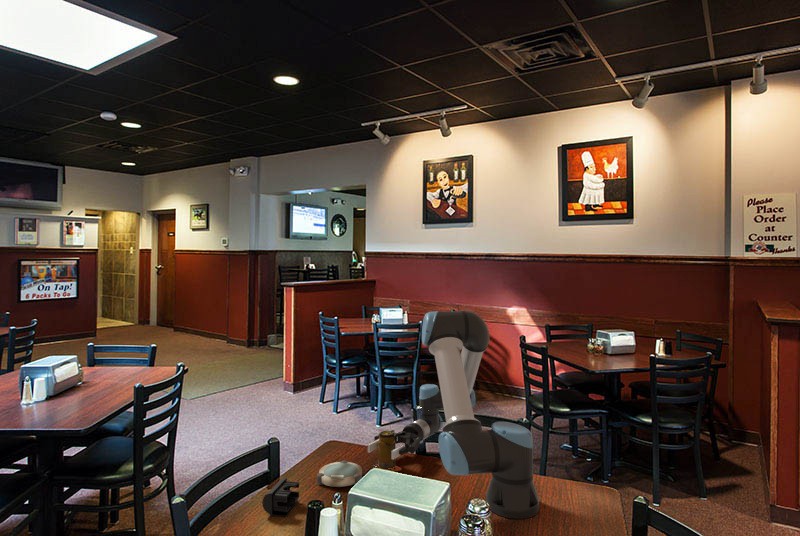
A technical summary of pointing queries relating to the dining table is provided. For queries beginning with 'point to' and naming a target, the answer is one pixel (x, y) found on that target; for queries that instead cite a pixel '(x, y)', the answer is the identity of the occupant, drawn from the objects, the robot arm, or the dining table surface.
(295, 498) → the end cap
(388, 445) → the condiment
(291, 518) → the dining table surface
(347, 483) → the base
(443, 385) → the robot arm
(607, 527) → the dining table surface
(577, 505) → the dining table surface
